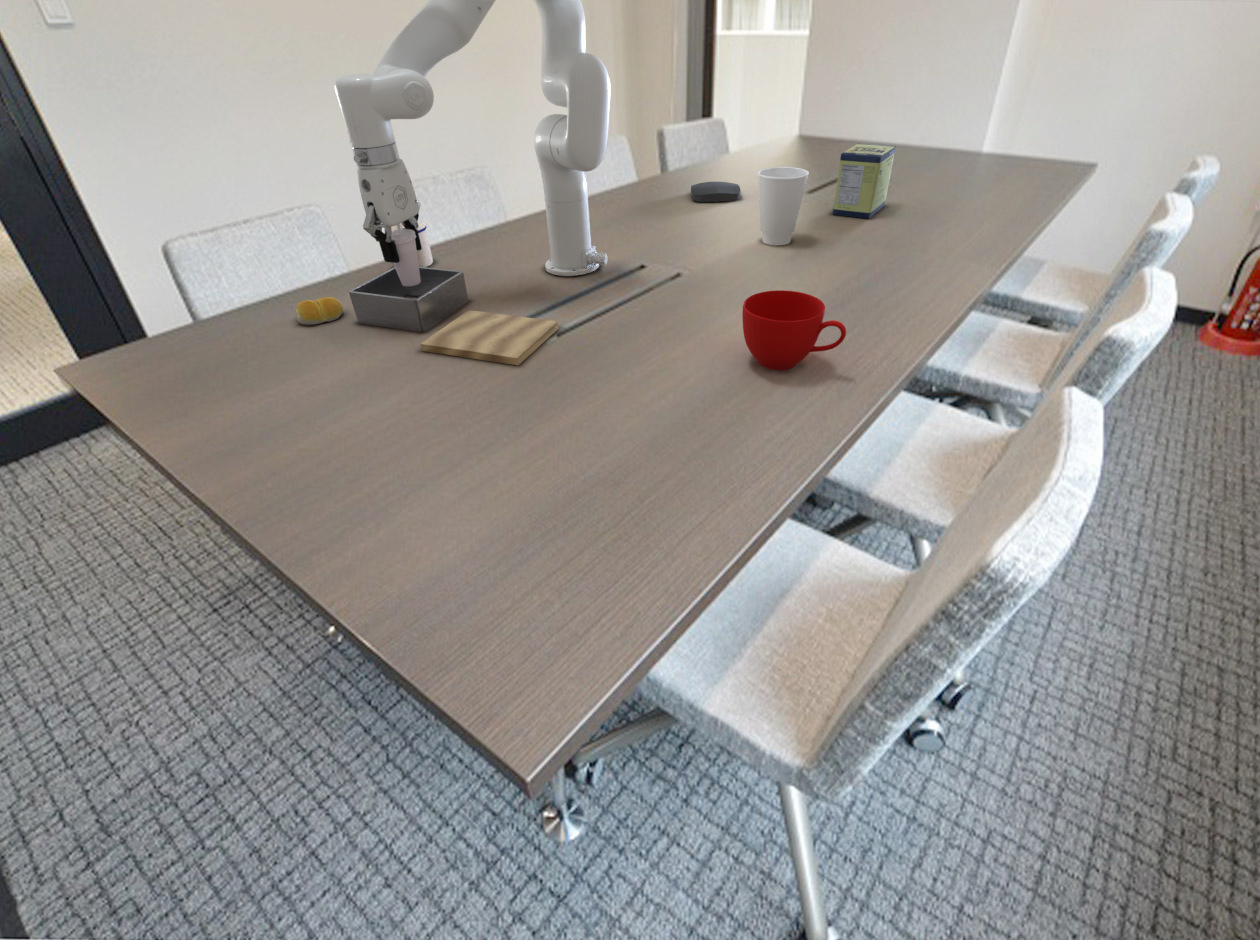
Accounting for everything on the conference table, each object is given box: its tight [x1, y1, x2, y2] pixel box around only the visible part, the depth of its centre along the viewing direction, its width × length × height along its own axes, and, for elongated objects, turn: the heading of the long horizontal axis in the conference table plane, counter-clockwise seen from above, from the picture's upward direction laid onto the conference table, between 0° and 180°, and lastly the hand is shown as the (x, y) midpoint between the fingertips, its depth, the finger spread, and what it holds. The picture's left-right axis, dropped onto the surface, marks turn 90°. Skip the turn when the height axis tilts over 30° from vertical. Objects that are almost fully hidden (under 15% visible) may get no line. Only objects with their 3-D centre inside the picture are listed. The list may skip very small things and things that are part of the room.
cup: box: [757, 166, 810, 246], centre depth 155 cm, size 12×12×16 cm
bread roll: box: [294, 296, 344, 326], centre depth 130 cm, size 8×9×4 cm
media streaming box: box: [690, 181, 742, 203], centre depth 196 cm, size 15×15×3 cm
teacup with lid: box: [391, 220, 434, 268], centre depth 153 cm, size 12×9×12 cm
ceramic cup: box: [741, 289, 847, 371], centre depth 105 cm, size 13×17×10 cm
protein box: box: [832, 143, 896, 220], centre depth 175 cm, size 10×16×16 cm
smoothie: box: [391, 224, 421, 286], centre depth 124 cm, size 6×6×14 cm
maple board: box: [420, 309, 560, 366], centre depth 119 cm, size 20×16×2 cm
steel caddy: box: [348, 266, 470, 333], centre depth 130 cm, size 16×16×6 cm
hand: (403, 254), depth 125 cm, fingers closed on smoothie, 6 cm apart
